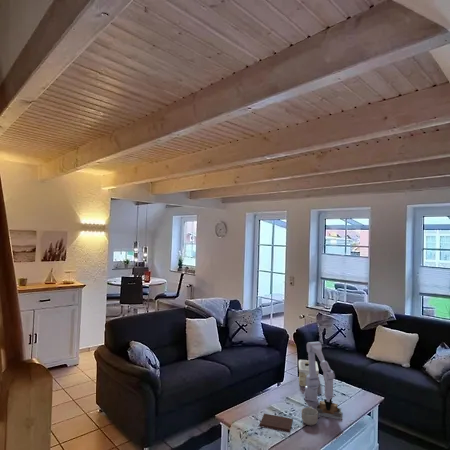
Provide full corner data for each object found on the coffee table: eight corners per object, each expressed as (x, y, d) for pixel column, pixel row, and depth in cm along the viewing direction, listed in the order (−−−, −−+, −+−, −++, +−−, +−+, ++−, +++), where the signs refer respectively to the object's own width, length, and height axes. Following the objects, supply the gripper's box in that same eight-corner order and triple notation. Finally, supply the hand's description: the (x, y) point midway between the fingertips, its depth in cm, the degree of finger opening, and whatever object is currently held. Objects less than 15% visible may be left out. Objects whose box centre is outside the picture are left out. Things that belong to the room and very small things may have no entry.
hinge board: (314, 414, 244) (314, 409, 244) (316, 407, 253) (316, 402, 254) (341, 419, 238) (341, 414, 238) (342, 412, 247) (342, 407, 247)
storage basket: (298, 375, 311) (298, 358, 311) (316, 377, 308) (317, 360, 308) (298, 387, 287) (298, 369, 288) (318, 389, 284) (319, 371, 284)
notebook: (264, 415, 242) (264, 412, 242) (292, 420, 236) (292, 417, 236) (259, 426, 228) (259, 423, 228) (289, 432, 222) (289, 429, 222)
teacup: (314, 429, 226) (315, 416, 226) (298, 424, 231) (299, 412, 232) (321, 419, 237) (321, 407, 238) (305, 414, 243) (305, 403, 243)
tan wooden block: (319, 411, 246) (319, 403, 246) (320, 409, 250) (320, 400, 250) (337, 415, 242) (337, 406, 242) (337, 412, 245) (337, 403, 246)
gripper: (334, 393, 238) (334, 413, 238) (335, 385, 251) (334, 403, 251) (323, 391, 240) (323, 411, 240) (325, 383, 254) (324, 402, 254)
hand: (328, 407), depth 246 cm, fingers open, 7 cm apart
